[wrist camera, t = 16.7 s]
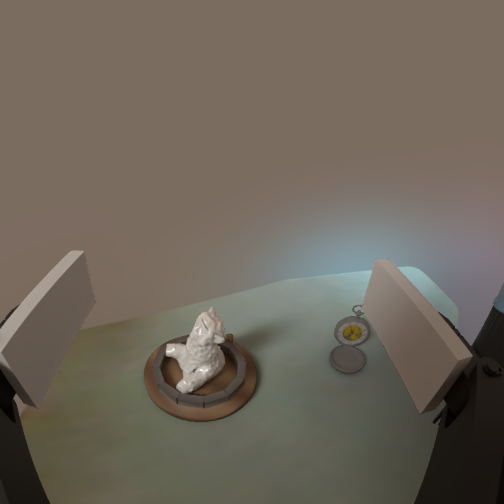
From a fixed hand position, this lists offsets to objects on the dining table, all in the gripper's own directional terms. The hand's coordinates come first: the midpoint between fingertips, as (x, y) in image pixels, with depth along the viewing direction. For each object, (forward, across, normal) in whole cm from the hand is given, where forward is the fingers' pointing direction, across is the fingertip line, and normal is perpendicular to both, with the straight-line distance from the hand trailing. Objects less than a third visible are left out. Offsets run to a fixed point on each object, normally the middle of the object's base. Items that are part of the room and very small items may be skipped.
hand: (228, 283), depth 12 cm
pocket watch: (+23, +22, -30) cm, 44 cm away
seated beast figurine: (+20, -5, -28) cm, 35 cm away
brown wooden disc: (+20, -4, -30) cm, 36 cm away
